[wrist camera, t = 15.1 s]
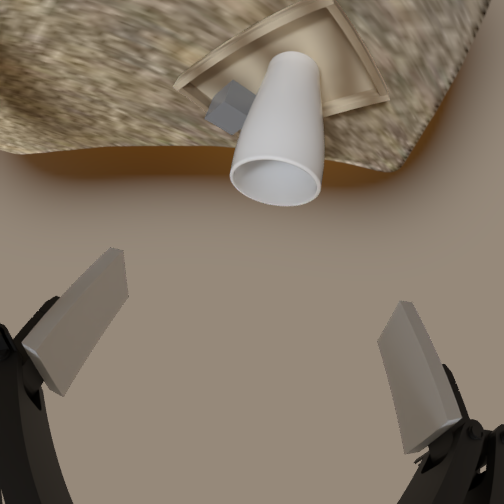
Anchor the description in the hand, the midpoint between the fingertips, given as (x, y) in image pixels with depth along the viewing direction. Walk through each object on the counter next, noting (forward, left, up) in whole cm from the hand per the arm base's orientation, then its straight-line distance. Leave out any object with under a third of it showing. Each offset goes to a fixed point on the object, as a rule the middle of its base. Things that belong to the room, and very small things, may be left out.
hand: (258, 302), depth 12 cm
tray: (-5, -4, -25) cm, 26 cm away
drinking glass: (-3, -4, -24) cm, 24 cm away
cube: (-12, -4, -24) cm, 27 cm away
